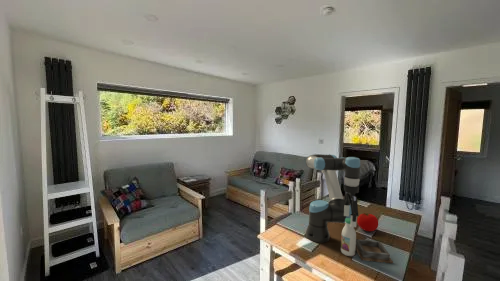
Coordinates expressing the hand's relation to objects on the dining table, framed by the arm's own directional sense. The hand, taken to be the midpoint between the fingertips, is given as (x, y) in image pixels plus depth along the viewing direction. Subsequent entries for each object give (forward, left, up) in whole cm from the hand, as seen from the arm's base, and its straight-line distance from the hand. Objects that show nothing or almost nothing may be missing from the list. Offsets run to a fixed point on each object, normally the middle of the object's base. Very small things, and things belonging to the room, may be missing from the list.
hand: (349, 221), depth 124 cm
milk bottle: (0, 0, -20) cm, 20 cm away
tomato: (+21, +31, -20) cm, 42 cm away
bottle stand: (+13, +2, -19) cm, 24 cm away
